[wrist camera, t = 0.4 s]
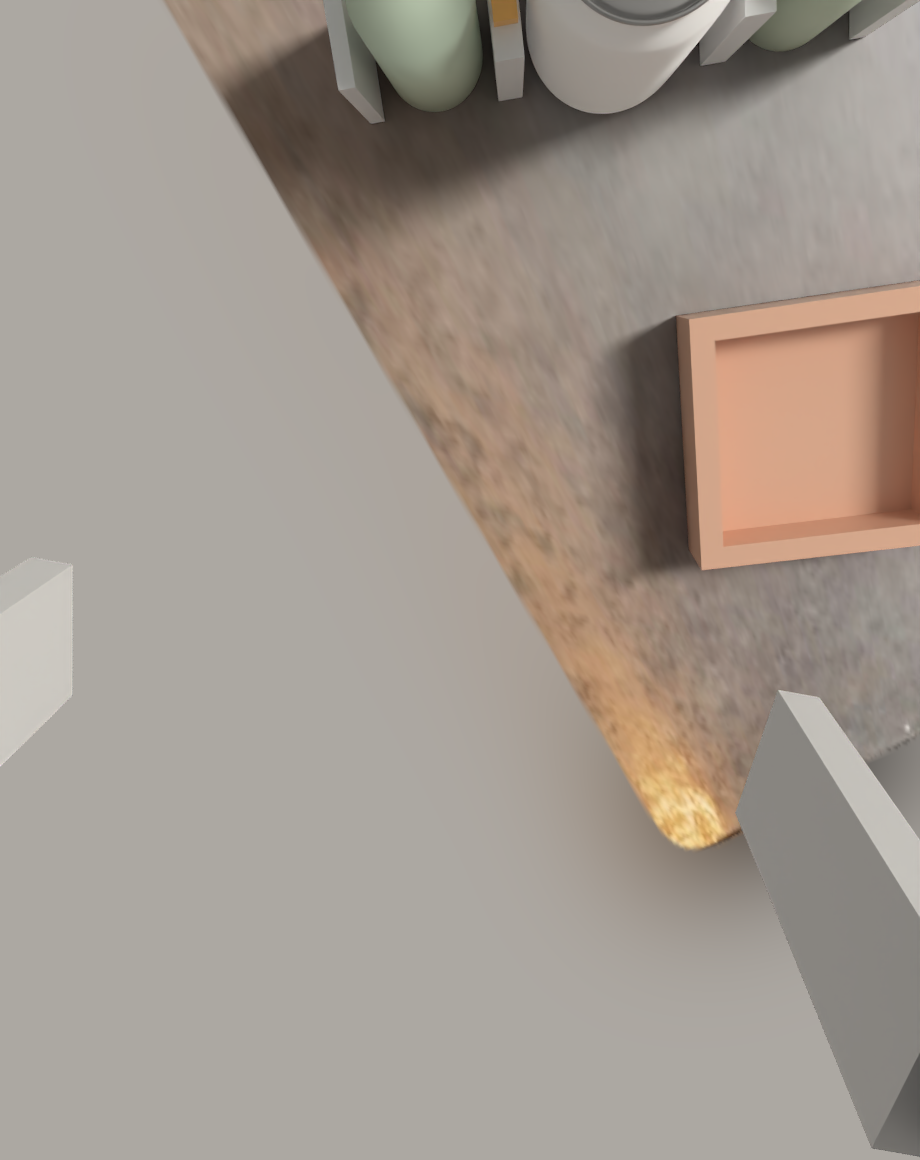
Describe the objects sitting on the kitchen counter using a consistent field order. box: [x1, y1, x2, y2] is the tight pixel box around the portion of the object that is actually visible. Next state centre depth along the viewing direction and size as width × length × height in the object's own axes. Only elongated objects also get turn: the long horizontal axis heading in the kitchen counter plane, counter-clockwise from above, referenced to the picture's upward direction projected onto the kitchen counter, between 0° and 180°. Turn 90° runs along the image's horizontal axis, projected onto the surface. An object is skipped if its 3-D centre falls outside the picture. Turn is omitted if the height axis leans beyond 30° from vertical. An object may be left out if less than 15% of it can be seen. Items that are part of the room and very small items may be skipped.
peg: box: [345, 0, 483, 112], centre depth 30 cm, size 4×4×9 cm
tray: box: [676, 280, 920, 570], centre depth 37 cm, size 11×11×3 cm
